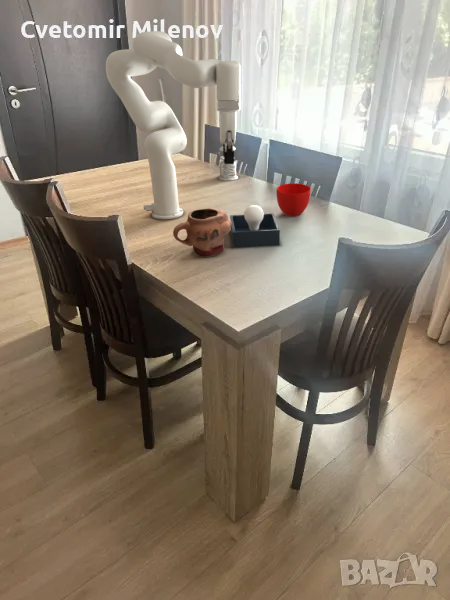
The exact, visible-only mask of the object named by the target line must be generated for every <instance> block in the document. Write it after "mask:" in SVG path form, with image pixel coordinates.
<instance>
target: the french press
mask: <svg viewBox="0 0 450 600" xmlns="http://www.w3.org/2000/svg"><path fill="white" fill-rule="evenodd" d="M233 148H234V152H235V151H236V150H237V148H236V147H235V146H233ZM218 150H219V151H217V152H216V153H215V154H214V156H213V163H214V166H217V168H218V169H219V176H218V179H219V180H221V181H235V180H237V179H239V176H238V175H237V160H236V157H235V155H234V164H224V156H221V157H220V160H219V165H217V163H216V160H215V158H216V155H218V154H219V156H220V155H221V152H223V145H222V146H220V147H219V148H218Z"/></svg>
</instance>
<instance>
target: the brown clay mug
mask: <svg viewBox="0 0 450 600" xmlns="http://www.w3.org/2000/svg"><path fill="white" fill-rule="evenodd" d="M231 226H232V222H231V220H230V218H229V217H228V214H227V213H226V212H225V211H224V210H222V209H217V208H212V207H211V208H210V207H209V208H199V209H194V210H192V211H190V212H189V213H188V214H187V219H186V221H184V222H180V223H179V224H177V225H175V227H174V228H173V230H172V235H173V238H174V240H176V241H178V242H179V243H181V244H182V245H186V246H188V247H192V249H193V253H194V254H195V255H197V256H198V257H202V258H209V257H215V256H218V255H220V254H222V253H223V252H224V251H225V243H224V240H225V238H226V236H227V235H228V233H229V232H230V231H231ZM183 230H185V231H186V237H185V239H181V238H179V236H178V235H179V232H180V231H183Z"/></svg>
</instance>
